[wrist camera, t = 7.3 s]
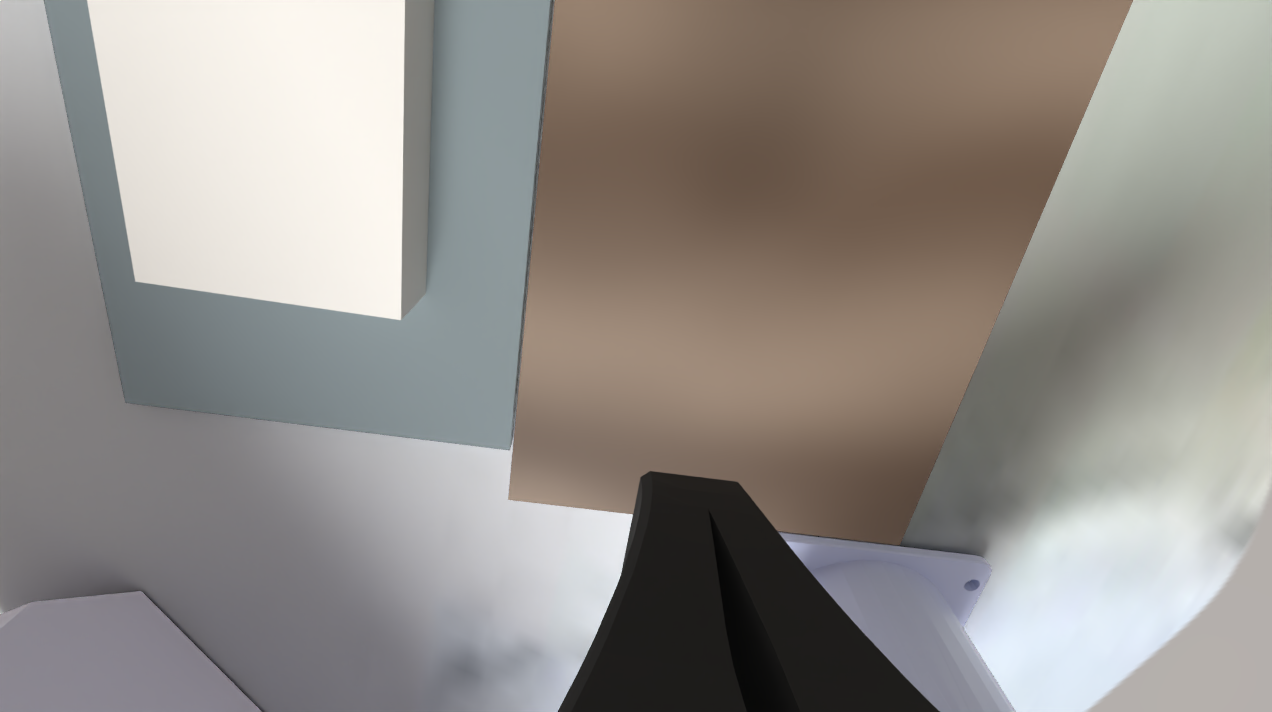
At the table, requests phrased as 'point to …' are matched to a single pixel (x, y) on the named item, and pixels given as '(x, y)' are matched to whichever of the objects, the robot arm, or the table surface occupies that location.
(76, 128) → the mat
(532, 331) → the riser
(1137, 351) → the table surface
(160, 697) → the game console
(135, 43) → the card case
